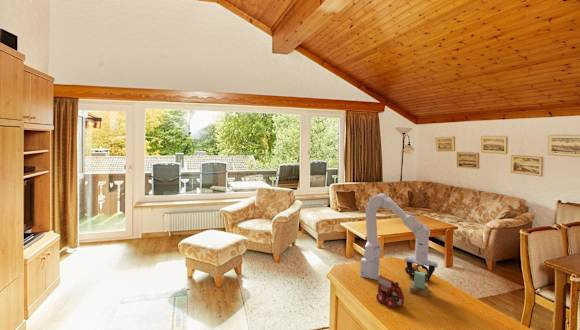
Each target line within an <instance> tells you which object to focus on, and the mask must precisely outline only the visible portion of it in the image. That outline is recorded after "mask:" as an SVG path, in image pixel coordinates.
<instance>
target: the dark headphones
mask: <svg viewBox="0 0 580 330" xmlns="http://www.w3.org/2000/svg"><path fill="white" fill-rule="evenodd" d="M420 267H421V269H423V270H425V271H426V273H425V281H427V278H428V269H429V267H428V266H426V265H419V264H414V265H412V274H414V275H415V271H417V272H421V271H420V269H419V268H420ZM404 270H405V273H406V274H407V275H408V276H409V277H410V273H409V269H408V267H407V266H406V267H405V269H404Z"/></svg>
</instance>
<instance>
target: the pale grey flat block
mask: <svg viewBox="0 0 580 330" xmlns="http://www.w3.org/2000/svg"><path fill="white" fill-rule="evenodd" d="M409 294H415V295H419V296H424V297H429V284H428V282H427V283H426V282H425V285H424V289H422V288H417V287H414V280H410V282H409Z"/></svg>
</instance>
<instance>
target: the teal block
mask: <svg viewBox="0 0 580 330" xmlns="http://www.w3.org/2000/svg"><path fill="white" fill-rule="evenodd" d="M425 274H426V272H422V271H420V272H417V271H415V274H414V277H413V278H414V280H413V281H414V287H417V288H422V289H424V285H425V283H426V280H425Z"/></svg>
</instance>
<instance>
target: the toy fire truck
mask: <svg viewBox="0 0 580 330" xmlns="http://www.w3.org/2000/svg"><path fill="white" fill-rule="evenodd" d="M377 282H378V287H377V294H376V300H377V301H378V303H380V304H383V303H385V302H386V305H387V307H388V308H390V309H394V308H395V307H396V305H398V306H401V307H402V306H403V305H404V302H405V296H404V293H403V290H402V288H401V286H400V285H399V282H397V281H393V280H391V279H390V278H387V277H385V276H383V275H380V276H379V277H378V280H377Z"/></svg>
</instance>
